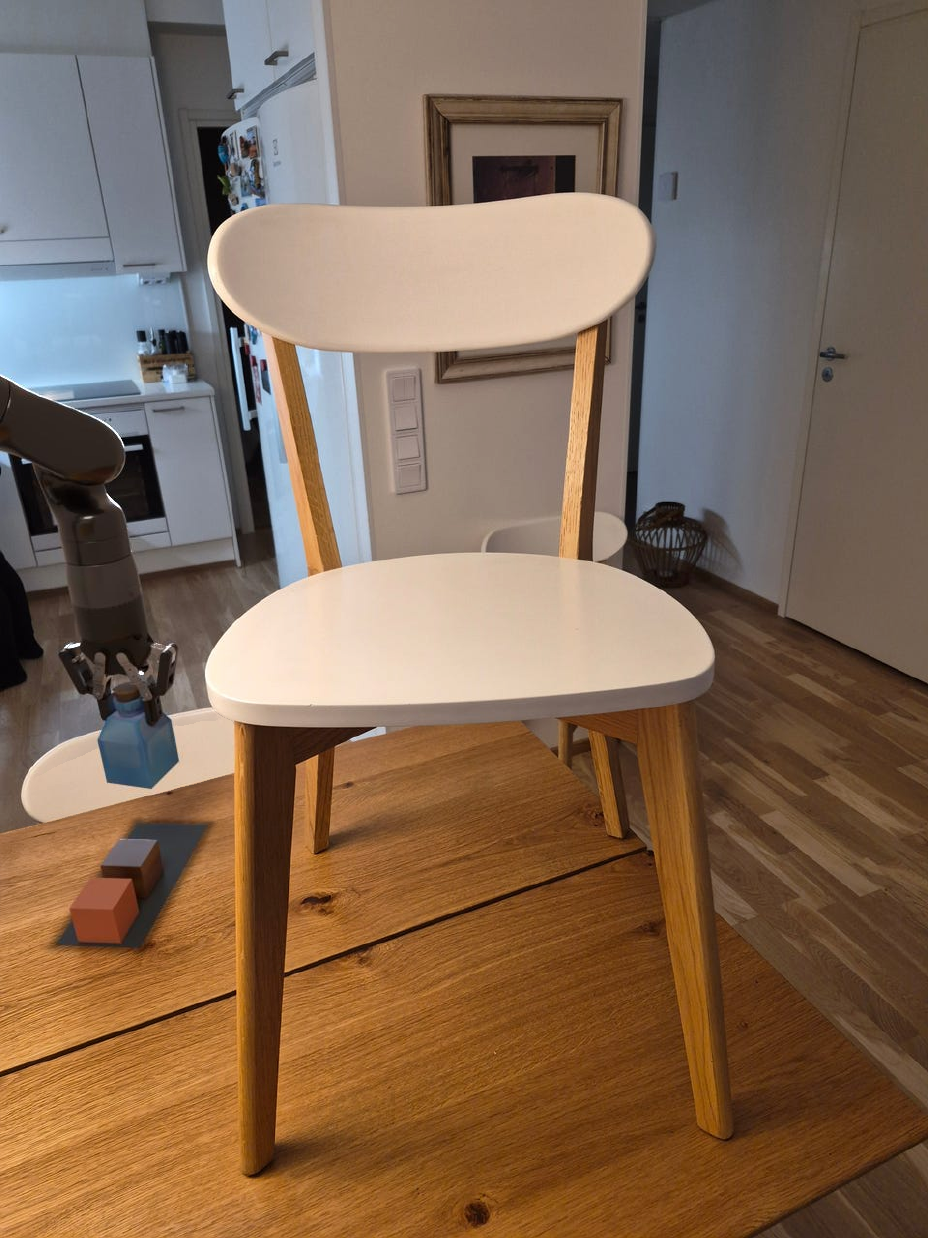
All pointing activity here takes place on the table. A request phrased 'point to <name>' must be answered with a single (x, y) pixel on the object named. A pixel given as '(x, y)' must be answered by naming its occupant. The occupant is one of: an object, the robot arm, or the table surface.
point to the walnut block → (135, 864)
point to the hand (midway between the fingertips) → (133, 721)
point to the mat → (172, 867)
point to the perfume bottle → (135, 742)
